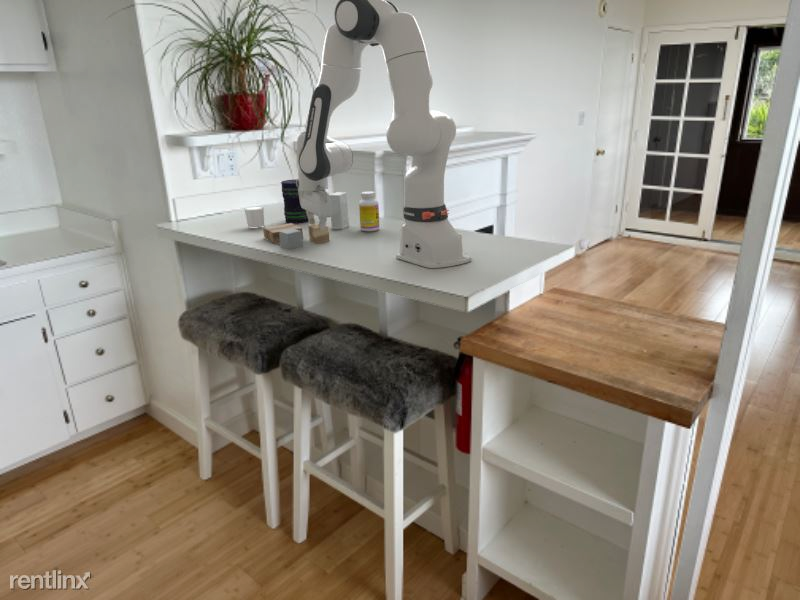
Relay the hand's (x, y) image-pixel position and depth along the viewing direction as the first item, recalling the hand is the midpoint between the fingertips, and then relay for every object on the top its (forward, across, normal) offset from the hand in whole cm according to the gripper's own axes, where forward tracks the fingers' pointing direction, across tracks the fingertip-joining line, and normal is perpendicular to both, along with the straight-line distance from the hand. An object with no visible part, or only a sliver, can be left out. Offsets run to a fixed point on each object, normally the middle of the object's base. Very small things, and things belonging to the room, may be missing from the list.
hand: (317, 226), depth 182 cm
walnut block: (+5, +9, +9) cm, 14 cm away
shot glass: (+5, +33, +12) cm, 36 cm away
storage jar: (+5, +33, -4) cm, 34 cm away
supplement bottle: (+4, +3, -20) cm, 21 cm away
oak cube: (+5, -1, 0) cm, 5 cm away
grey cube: (+5, -3, +10) cm, 11 cm away
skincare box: (+5, +13, -13) cm, 19 cm away
